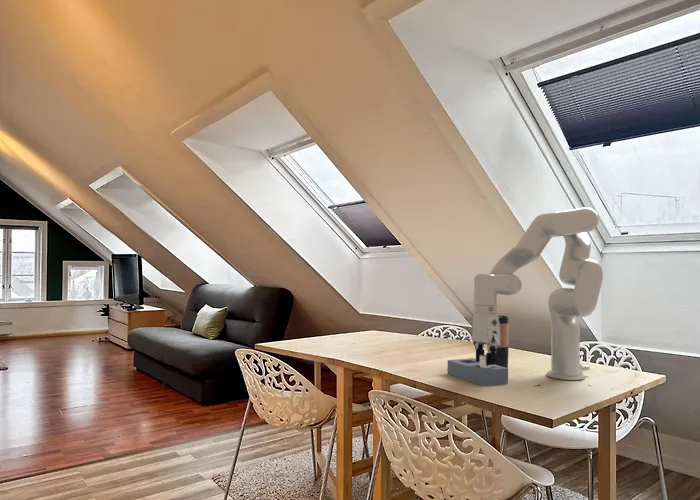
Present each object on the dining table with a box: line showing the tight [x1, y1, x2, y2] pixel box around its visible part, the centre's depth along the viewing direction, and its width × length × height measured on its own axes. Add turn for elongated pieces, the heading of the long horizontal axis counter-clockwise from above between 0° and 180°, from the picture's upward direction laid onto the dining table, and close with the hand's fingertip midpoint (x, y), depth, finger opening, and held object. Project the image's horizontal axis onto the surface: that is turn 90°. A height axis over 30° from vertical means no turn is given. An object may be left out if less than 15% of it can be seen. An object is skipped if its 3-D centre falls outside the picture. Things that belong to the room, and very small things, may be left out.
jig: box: [447, 357, 509, 387], centre depth 185 cm, size 11×20×5 cm, turn 22°
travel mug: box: [490, 315, 510, 369], centre depth 203 cm, size 8×8×20 cm
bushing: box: [479, 354, 492, 369], centre depth 180 cm, size 4×4×9 cm
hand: (485, 362), depth 180 cm, fingers open, 5 cm apart
